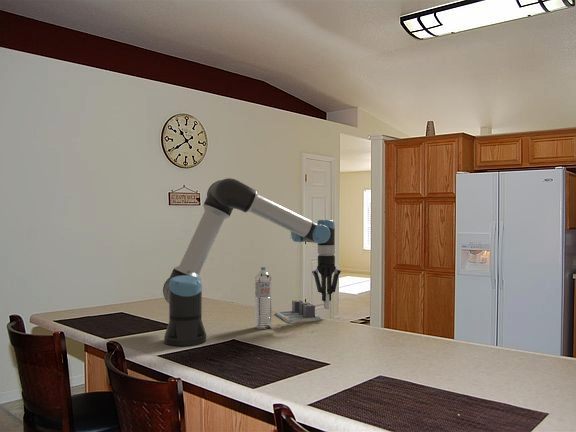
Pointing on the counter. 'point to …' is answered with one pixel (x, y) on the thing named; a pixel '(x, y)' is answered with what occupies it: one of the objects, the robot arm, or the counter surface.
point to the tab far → (296, 306)
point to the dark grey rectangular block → (308, 311)
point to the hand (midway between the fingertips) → (326, 308)
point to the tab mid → (302, 307)
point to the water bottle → (263, 300)
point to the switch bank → (294, 317)
